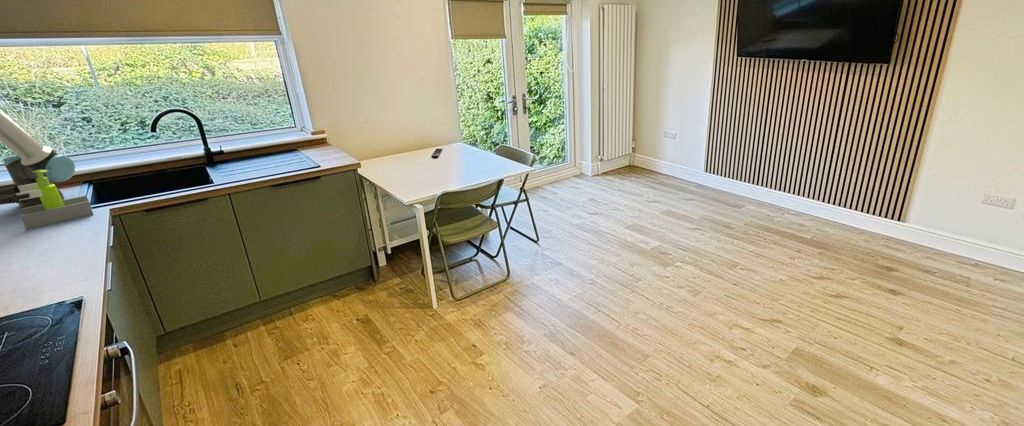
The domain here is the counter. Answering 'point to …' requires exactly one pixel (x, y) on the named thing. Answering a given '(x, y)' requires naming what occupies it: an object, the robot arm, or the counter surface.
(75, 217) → the gray rectangular tray
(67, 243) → the counter surface
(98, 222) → the counter surface
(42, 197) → the soap dispenser
